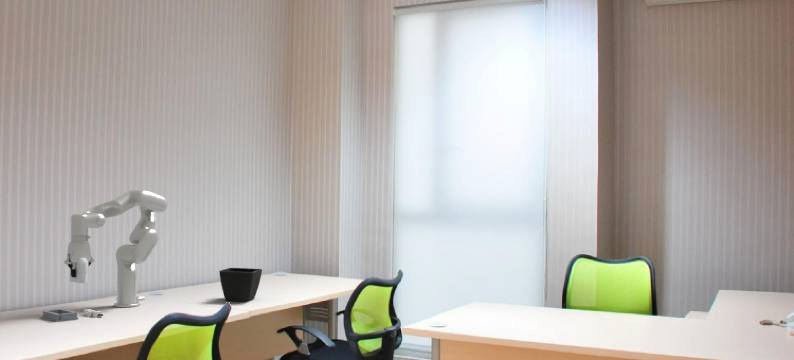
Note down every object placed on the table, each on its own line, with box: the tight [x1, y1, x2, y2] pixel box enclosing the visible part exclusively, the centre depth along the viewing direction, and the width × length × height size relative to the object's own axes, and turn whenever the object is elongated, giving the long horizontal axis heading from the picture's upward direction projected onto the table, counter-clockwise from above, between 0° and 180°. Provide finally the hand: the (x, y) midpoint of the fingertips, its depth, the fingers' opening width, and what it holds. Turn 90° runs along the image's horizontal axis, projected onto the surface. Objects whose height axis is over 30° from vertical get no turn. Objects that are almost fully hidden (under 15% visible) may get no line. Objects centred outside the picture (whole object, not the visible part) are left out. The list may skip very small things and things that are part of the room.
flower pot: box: [219, 267, 263, 303], centre depth 401 cm, size 19×19×17 cm
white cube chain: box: [83, 308, 104, 318], centre depth 344 cm, size 4×13×2 cm, turn 51°
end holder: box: [41, 308, 79, 323], centre depth 335 cm, size 10×15×3 cm, turn 51°
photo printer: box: [69, 258, 90, 284], centre depth 352 cm, size 10×4×12 cm, turn 60°
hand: (79, 276), depth 352 cm, fingers closed on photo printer, 4 cm apart
